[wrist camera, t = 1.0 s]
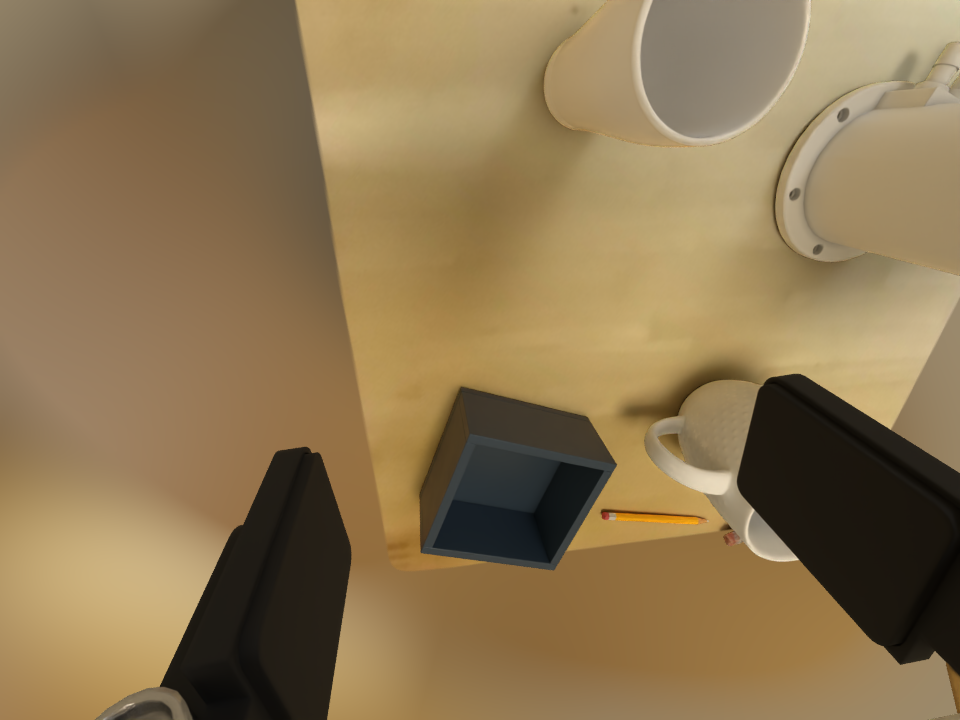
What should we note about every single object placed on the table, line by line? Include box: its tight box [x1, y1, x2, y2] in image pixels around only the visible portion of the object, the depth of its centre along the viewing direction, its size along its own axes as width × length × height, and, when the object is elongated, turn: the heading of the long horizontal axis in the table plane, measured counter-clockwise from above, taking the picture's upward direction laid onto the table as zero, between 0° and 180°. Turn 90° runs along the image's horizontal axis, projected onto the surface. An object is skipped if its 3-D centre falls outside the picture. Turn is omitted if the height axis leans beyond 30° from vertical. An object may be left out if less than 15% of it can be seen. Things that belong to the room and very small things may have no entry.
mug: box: [644, 380, 799, 562], centre depth 37 cm, size 15×11×13 cm
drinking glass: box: [544, 0, 811, 147], centre depth 22 cm, size 7×7×15 cm
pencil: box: [602, 512, 709, 524], centre depth 48 cm, size 1×13×1 cm, turn 76°
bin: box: [420, 387, 617, 570], centre depth 39 cm, size 13×13×7 cm
